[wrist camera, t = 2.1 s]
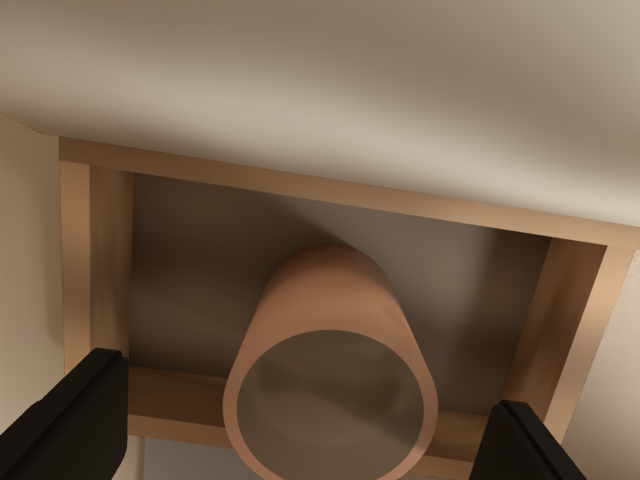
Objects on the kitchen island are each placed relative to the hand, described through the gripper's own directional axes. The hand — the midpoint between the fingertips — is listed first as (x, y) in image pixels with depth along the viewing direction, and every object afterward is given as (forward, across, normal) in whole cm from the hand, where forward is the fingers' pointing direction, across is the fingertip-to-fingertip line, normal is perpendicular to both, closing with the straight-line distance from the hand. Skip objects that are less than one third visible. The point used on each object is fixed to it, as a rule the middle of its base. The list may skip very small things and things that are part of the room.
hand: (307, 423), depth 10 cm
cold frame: (+8, -1, -2) cm, 9 cm away
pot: (+8, -1, 0) cm, 8 cm away
